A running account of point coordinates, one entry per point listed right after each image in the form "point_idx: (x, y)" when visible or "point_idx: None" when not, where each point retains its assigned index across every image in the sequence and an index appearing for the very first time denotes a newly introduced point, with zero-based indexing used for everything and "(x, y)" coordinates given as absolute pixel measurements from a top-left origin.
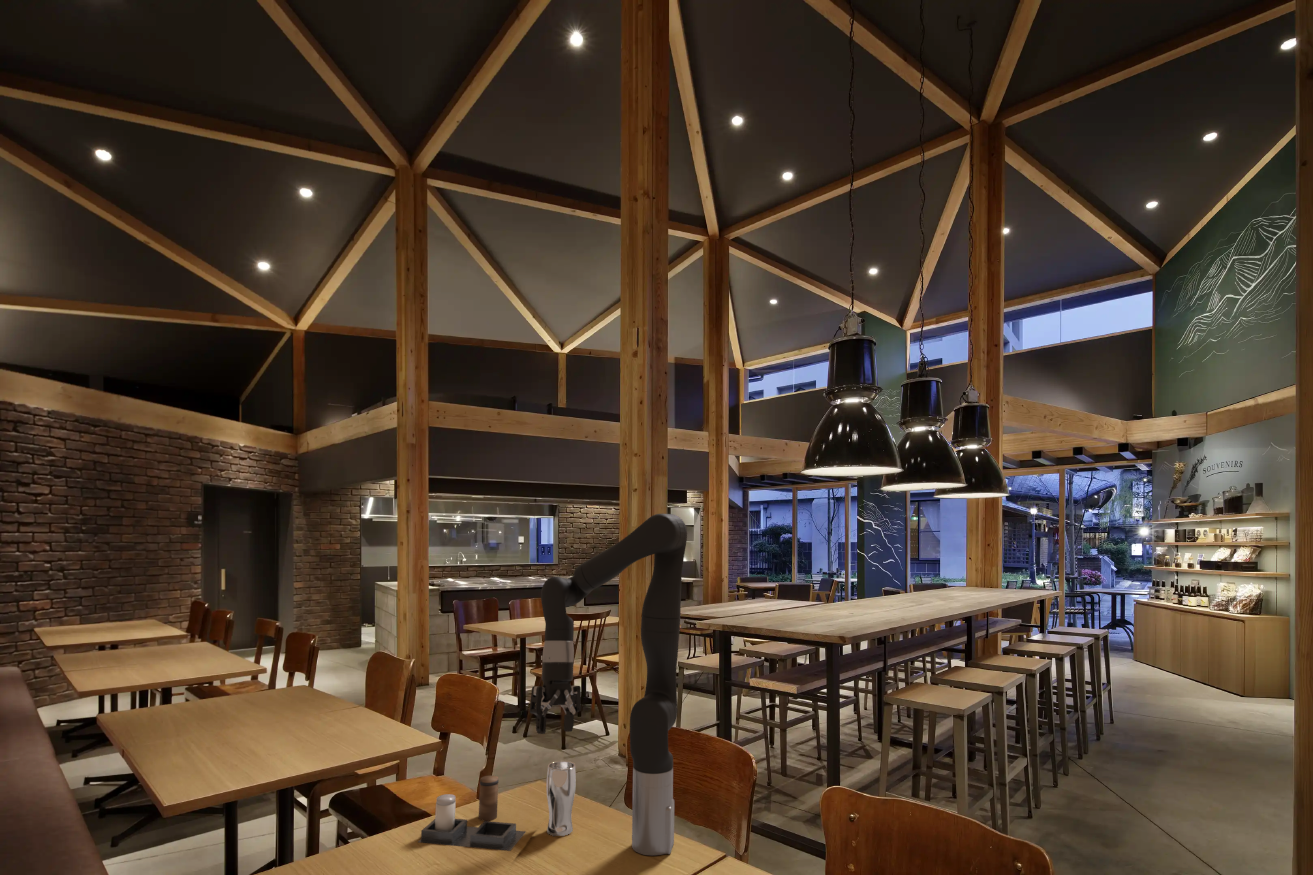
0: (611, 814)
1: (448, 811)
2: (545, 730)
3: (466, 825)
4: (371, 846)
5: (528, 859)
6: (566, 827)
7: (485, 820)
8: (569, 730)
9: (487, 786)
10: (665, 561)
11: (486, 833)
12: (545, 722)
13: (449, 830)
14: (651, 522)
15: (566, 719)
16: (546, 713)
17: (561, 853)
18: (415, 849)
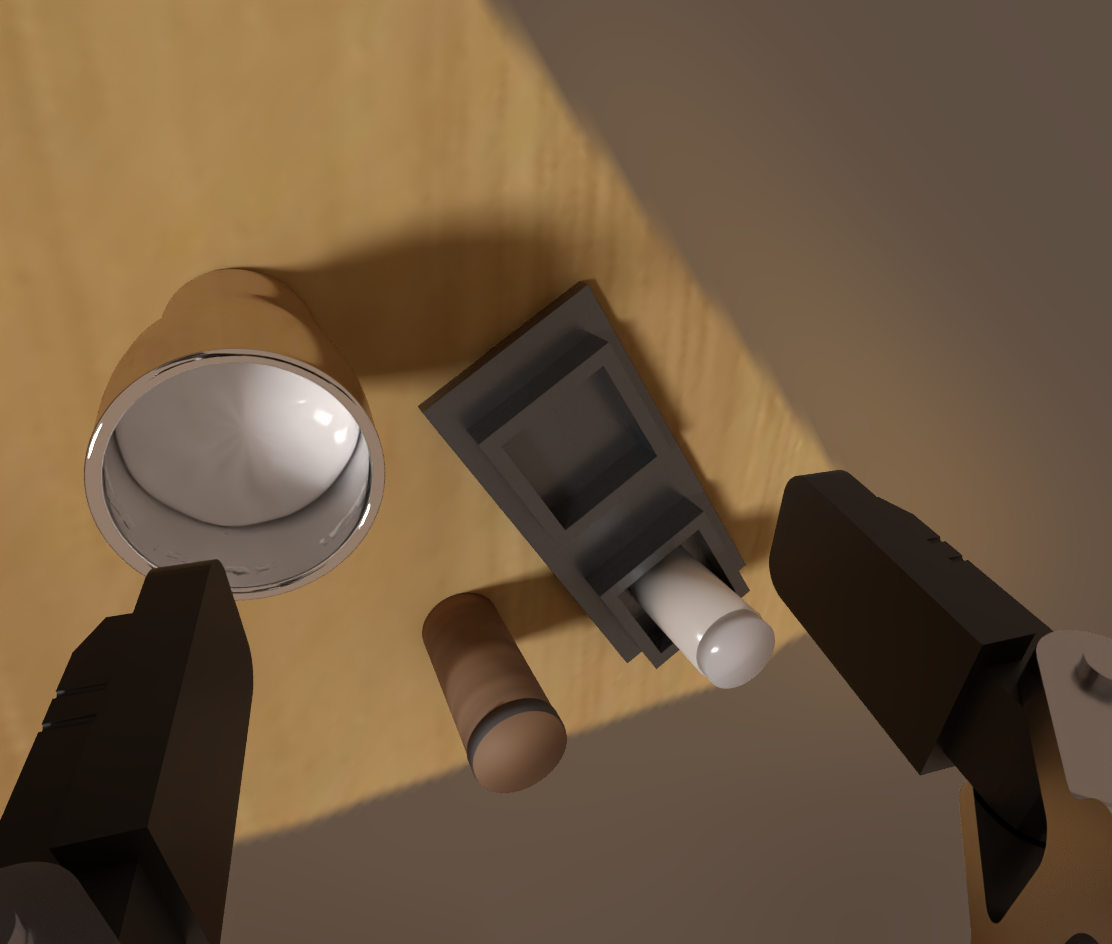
0: None
1: (727, 593)
2: (819, 488)
3: (594, 582)
4: (801, 625)
5: (549, 184)
6: (241, 279)
7: (493, 609)
8: (216, 574)
9: (544, 701)
10: None
11: (558, 497)
12: (914, 562)
13: (678, 555)
14: None
15: (216, 810)
16: (1042, 690)
17: (394, 104)
18: (749, 542)
